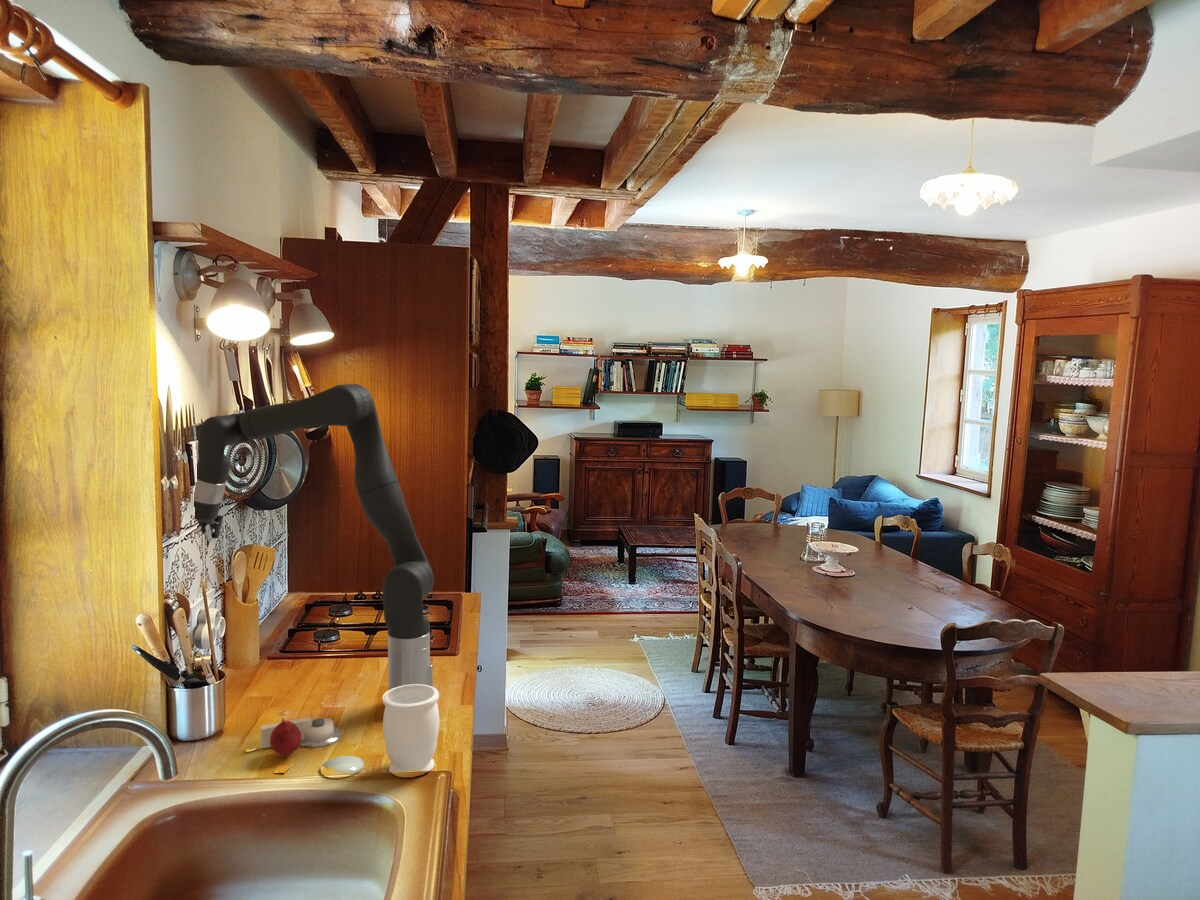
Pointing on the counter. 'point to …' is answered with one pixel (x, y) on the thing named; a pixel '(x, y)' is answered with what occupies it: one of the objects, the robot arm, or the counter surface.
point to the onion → (285, 738)
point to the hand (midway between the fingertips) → (186, 558)
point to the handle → (303, 730)
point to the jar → (411, 727)
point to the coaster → (345, 764)
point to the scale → (324, 743)
